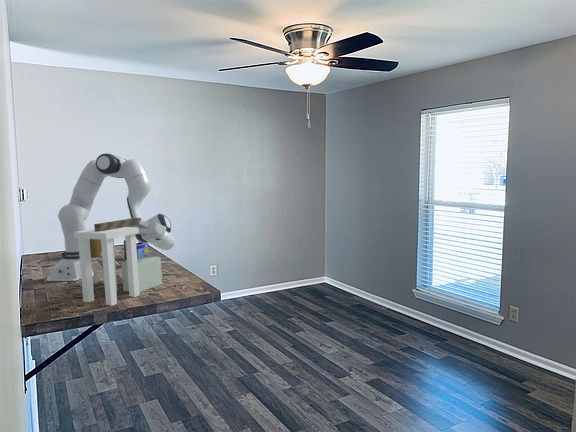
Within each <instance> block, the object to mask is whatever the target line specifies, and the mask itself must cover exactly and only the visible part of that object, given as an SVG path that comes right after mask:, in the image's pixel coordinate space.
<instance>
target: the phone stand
mask: <svg viewBox="0 0 576 432" xmlns="http://www.w3.org/2000/svg"><path fill="white" fill-rule="evenodd" d="M123 251H124V252H123V254H124V256H123V257H124V259H125V260H126V261H127V255H126V241H125V240H123Z"/></svg>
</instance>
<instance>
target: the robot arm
mask: <svg viewBox="0 0 576 432" xmlns="http://www.w3.org/2000/svg"><path fill="white" fill-rule="evenodd" d="M81 171H82V172H81V173H80V175H79V177H78V179H77V181H76V183H75V185H74V187H73V190H72V194H71V197H70V201H69V203H68V204H65V205H63V206H62V207H61V208H60V210H58V211H59V212H58V215H57V216H58V217H57V219H58V221H59V222H60V226H61V231H62V234H63V237H64V248H65V251H63V252H62V253H61V254H60V257H62V259H61V260H59V261H58V262H57V263H56V264H54V265H53V266H52V268H51V271H50V275H49V276H47V277H46V282H75V281H78V280H79V281H80V280H82V279H81V267H80V255H79V243H78V238H74V232H78V231H84V230H87V229H86V226H85V221H86V220H87V219H88V218H89V214H90V212H91V210H92V206H93V204H94V201H95V198H96V196H97V195H98V192H99V191H100V188H101V186H102V185H103V182H104V180H105V179H106V178H107V177H111V178H117V179H124V180H125V183H126V185H127V190H128V195H127V197H126V202H127V208H128V210H129V215H130V219H131V218H141V220H139V222H138V224H139V225H134V226H129V227H138V229H139V233H137V234H135V235H136V241H138V242H139V241H140V242H143V243H148V244H151V245H153V246H154V247H157V249H158V248H159V249H160V250H164V251H169V250H170V249H172V248H173V247H174V246H175V245H176V242H177V241H176V238H175V237H174V235H173V234H172V223H171V220H170V219H169V217H167V216H166V215H164V214H162V213H157V214H155V215H154V216H152V217H150V218H148V219H147V220H145V221H144V220H143V217H142V213H141V209H140V208H141V205H142V202H143V201H144V199H146V197H147V195H148V194H149V193H150V191H151V189H152V183H151V180H150V178H149V175H148V173H147V172H146V170H145V169H144V167H143V165H142V164H141V163H140V161H139V160H137V159H128V160H127V159H125V158H123V157H121V156H119V155H115V154H112V153H102V154H99V155H98V156H97V158H96V159H95V160H93V159H92V160H90V161H89V162H88V163H87V164H86V166H85V167H84V168H83V170H81ZM140 242H139V243H140ZM94 276H95V273H94V271H93V269H92V277H94Z"/></svg>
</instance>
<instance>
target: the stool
mask: <svg viewBox="0 0 576 432" xmlns="http://www.w3.org/2000/svg"><path fill="white" fill-rule="evenodd" d="M137 233H139V229H138V227H123V228H117V229H112V230H106V231H100V232H99V231H95V228H91V229H86V230H84V231H78V232H74V238H78V243H79V255H80V267H81V279H80V280H81V289H82V299H83V300H82V302H83V303H87V302H89V303H91V301H92V302H95V294H94V293H95V292H94V282H93V281H94V278H93V276H92V270H93V267H92V266H93V265H92V257H91V253H90V241H89V239H101V246H102V251H101V255H102V269H103V279H104V280H103V281H104V282H103V283H104V293H105V294H104V295H105V297H104V298H105V305H106V306H111V307H112V306H114V305H117V304H118V295H117V293H118V281H117V279H118V278H117V268H116V265H117V264H116V254H115V252H116V251H115V241H114V239H117V238H121V237H125V241H126V255H127V260H126V262H127V269H128V283H129V291H128V294H129V297H132V298H133V297H134V298H135V297H136V298H137V297H139V296H140V293H141V292H139V278H138V264H137V250H136V244H137V239H136V235H135V234H137Z"/></svg>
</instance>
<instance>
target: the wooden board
mask: <svg viewBox="0 0 576 432" xmlns="http://www.w3.org/2000/svg"><path fill="white" fill-rule="evenodd" d="M139 220H141V218H131V217H130V218H125V219H119V220H113V221H106V222H100V223H94V225H93V226H94V228H93V229H95V231H99V232H100V231H106V230H112V229H117V228H123V227H129V226H134V225H139V224H138V222H139Z"/></svg>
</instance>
